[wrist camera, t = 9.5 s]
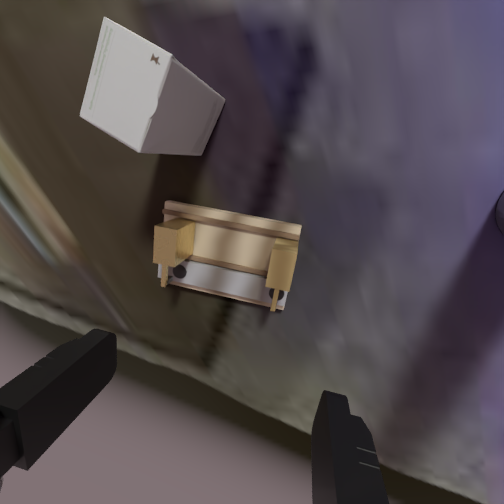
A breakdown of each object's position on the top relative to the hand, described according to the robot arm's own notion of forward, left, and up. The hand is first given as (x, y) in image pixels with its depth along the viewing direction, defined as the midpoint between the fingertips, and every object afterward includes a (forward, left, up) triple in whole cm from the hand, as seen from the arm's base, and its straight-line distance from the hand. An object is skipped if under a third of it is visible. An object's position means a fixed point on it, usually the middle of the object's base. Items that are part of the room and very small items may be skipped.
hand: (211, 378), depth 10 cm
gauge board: (+7, +6, -30) cm, 31 cm away
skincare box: (+14, -12, -30) cm, 35 cm away
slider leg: (+13, +6, -28) cm, 32 cm away
